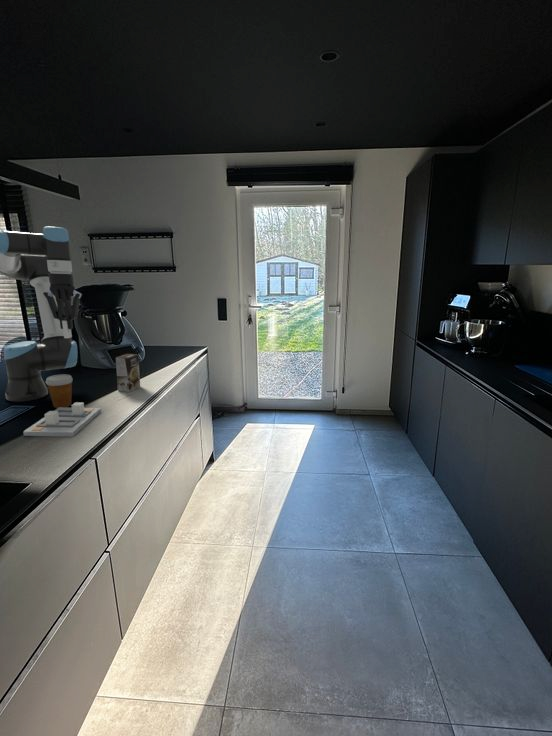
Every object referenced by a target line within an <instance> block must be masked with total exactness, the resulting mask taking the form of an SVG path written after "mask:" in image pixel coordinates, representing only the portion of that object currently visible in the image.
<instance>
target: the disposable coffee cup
mask: <svg viewBox="0 0 552 736" xmlns="http://www.w3.org/2000/svg"><path fill="white" fill-rule="evenodd" d="M44 383H45V385H47V389H48V393H49V395H50V399H51V402H52V405H53V408H56V409H57V408H59V407H68V408H69V406H72V390H73V388H72V387H73V386H72V385H73V377H72V375H70V374H65V373H63V374H54V375H50V376H48V377H47V378H46V379H45V381H44Z"/></svg>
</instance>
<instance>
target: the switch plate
mask: <svg viewBox="0 0 552 736" xmlns="http://www.w3.org/2000/svg"><path fill="white" fill-rule="evenodd" d="M101 409H102V408H101V407H84V410H85V413H83V414H82V415H73V414H72V407H69V406H68V407H59V408H56V409H55V410H53V411H58V414H59V422H58V423H57V424H56V425H46V422H45V416H44V417H42V418H41V419H39V420H38V421H36V422H35V423H34V424H32V425H31V426H29V427H28V428H26V429H25V430H23V432H22V433H23V437H27V436H28V437H71V438H72V437H74V436H75V435H76V434H78V433H79V432H80V431H81V430H82V429H83V428H84V427H85V426H87V425H88V423H90V422H91V421H92V420H94V419H95V417H97V416H98V415H99V414H100V413H102V412H101V411H102V410H101Z"/></svg>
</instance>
